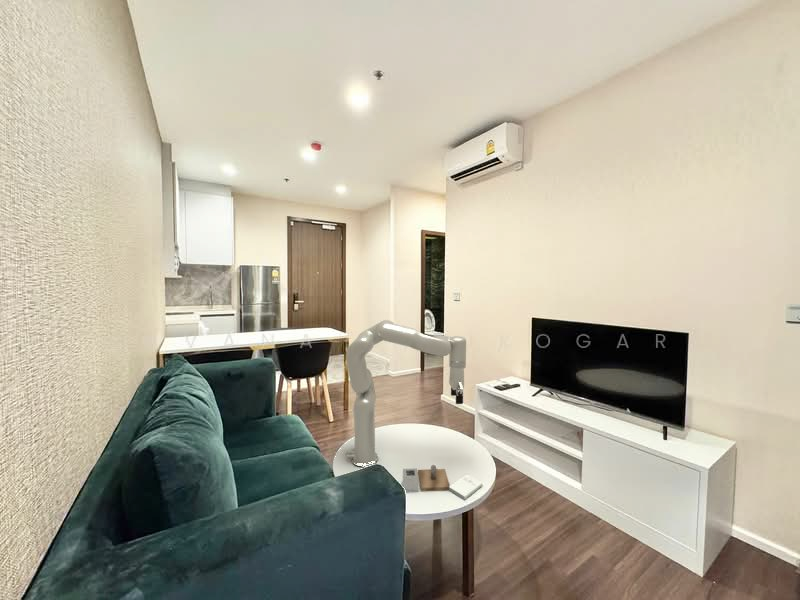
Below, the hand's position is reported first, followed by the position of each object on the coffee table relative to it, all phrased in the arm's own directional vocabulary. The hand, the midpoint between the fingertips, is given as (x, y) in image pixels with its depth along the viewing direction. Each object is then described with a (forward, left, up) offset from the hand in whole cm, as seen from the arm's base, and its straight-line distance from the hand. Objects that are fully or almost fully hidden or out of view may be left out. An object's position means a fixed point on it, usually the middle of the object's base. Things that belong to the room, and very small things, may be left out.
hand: (456, 399), depth 151 cm
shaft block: (-13, -15, -30) cm, 36 cm away
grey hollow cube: (-23, -18, -30) cm, 42 cm away
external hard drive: (0, -20, -30) cm, 36 cm away
